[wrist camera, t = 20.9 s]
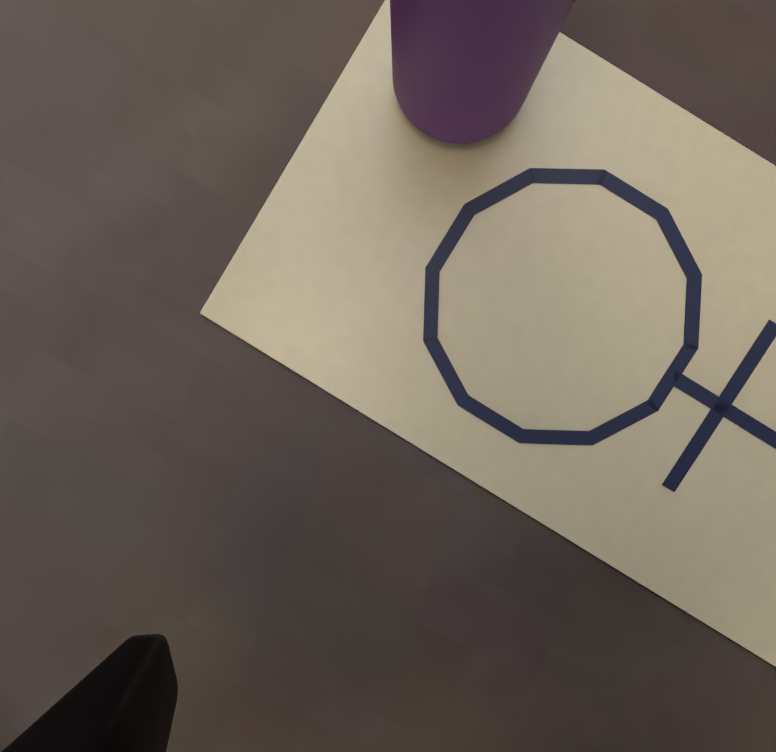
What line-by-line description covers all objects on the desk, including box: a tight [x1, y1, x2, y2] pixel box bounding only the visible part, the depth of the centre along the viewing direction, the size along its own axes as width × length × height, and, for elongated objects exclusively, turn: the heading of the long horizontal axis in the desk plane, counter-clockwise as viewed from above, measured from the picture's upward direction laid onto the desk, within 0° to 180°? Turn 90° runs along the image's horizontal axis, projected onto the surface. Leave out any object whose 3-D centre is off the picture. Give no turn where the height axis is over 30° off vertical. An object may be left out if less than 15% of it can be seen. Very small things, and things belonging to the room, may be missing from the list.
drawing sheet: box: [200, 0, 776, 667], centre depth 19 cm, size 23×13×1 cm, turn 58°
